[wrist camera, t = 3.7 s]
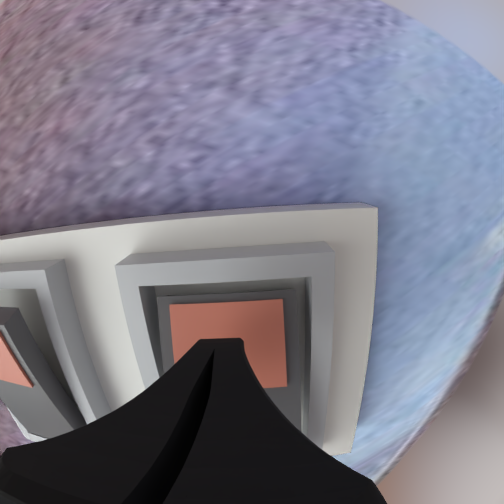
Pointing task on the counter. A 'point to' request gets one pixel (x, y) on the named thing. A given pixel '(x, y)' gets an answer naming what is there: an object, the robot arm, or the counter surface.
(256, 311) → the rocker
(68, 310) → the breaker panel
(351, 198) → the counter surface
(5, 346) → the rocker
